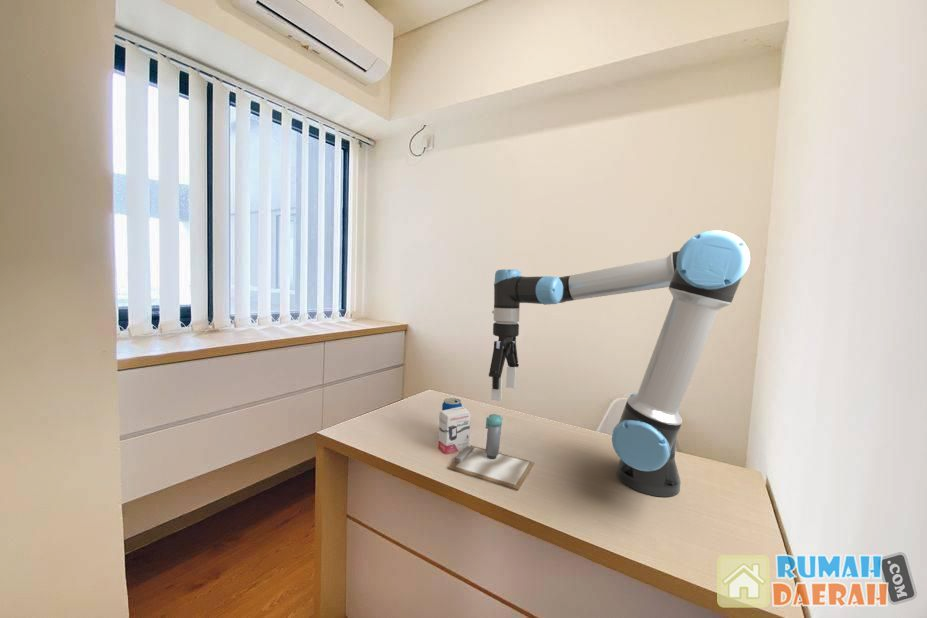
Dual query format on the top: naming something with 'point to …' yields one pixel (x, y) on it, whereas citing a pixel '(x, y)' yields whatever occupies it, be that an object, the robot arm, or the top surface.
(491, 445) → the marker
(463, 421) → the ink box
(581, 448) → the top surface
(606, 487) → the top surface
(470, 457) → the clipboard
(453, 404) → the beverage can
